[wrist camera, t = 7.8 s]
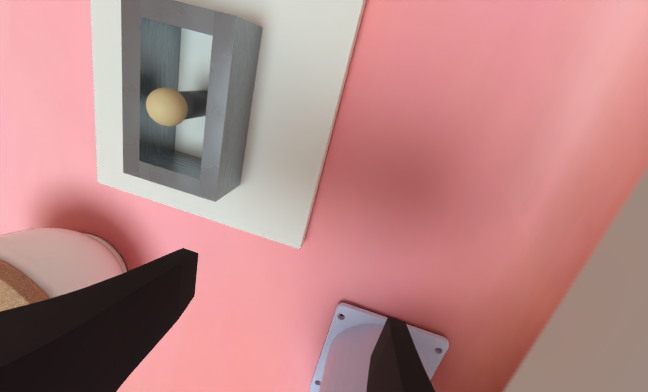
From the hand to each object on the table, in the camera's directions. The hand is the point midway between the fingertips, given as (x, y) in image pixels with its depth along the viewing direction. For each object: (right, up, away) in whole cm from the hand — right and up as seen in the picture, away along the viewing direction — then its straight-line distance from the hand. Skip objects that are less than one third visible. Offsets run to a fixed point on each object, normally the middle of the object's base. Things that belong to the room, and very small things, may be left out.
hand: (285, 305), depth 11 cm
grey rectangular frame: (-6, +10, +7) cm, 13 cm away
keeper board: (-5, +10, +8) cm, 13 cm away
